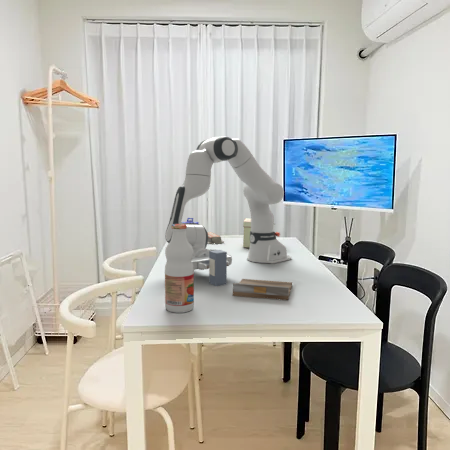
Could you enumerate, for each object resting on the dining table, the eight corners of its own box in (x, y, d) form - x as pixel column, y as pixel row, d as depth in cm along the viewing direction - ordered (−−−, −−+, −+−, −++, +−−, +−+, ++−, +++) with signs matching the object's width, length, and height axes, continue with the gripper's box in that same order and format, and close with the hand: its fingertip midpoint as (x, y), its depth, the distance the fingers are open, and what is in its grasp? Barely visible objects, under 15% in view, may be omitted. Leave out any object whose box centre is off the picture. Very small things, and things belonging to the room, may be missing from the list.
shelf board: (242, 282, 175) (242, 271, 174) (292, 286, 171) (292, 274, 170) (232, 295, 157) (232, 283, 157) (287, 300, 153) (288, 288, 152)
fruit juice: (164, 304, 147) (163, 223, 143) (191, 303, 149) (191, 222, 145) (166, 314, 138) (165, 227, 134) (195, 312, 140) (195, 226, 136)
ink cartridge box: (199, 241, 260) (199, 218, 258) (196, 243, 255) (196, 219, 253) (183, 241, 262) (183, 217, 260) (180, 242, 257) (180, 218, 255)
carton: (219, 281, 177) (220, 249, 175) (226, 284, 172) (226, 252, 171) (208, 282, 174) (208, 251, 172) (214, 286, 170) (215, 253, 168)
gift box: (276, 248, 242) (276, 218, 240) (242, 248, 242) (243, 217, 240) (273, 243, 259) (273, 214, 256) (242, 242, 259) (242, 214, 257)
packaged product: (224, 235, 257) (208, 236, 253) (224, 244, 257) (208, 245, 254) (214, 231, 273) (199, 232, 270) (214, 238, 274) (199, 239, 270)
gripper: (178, 254, 178) (194, 260, 166) (221, 249, 189) (239, 255, 177) (178, 269, 179) (194, 276, 167) (221, 263, 190) (238, 270, 178)
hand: (217, 265), depth 172 cm, fingers open, 8 cm apart
